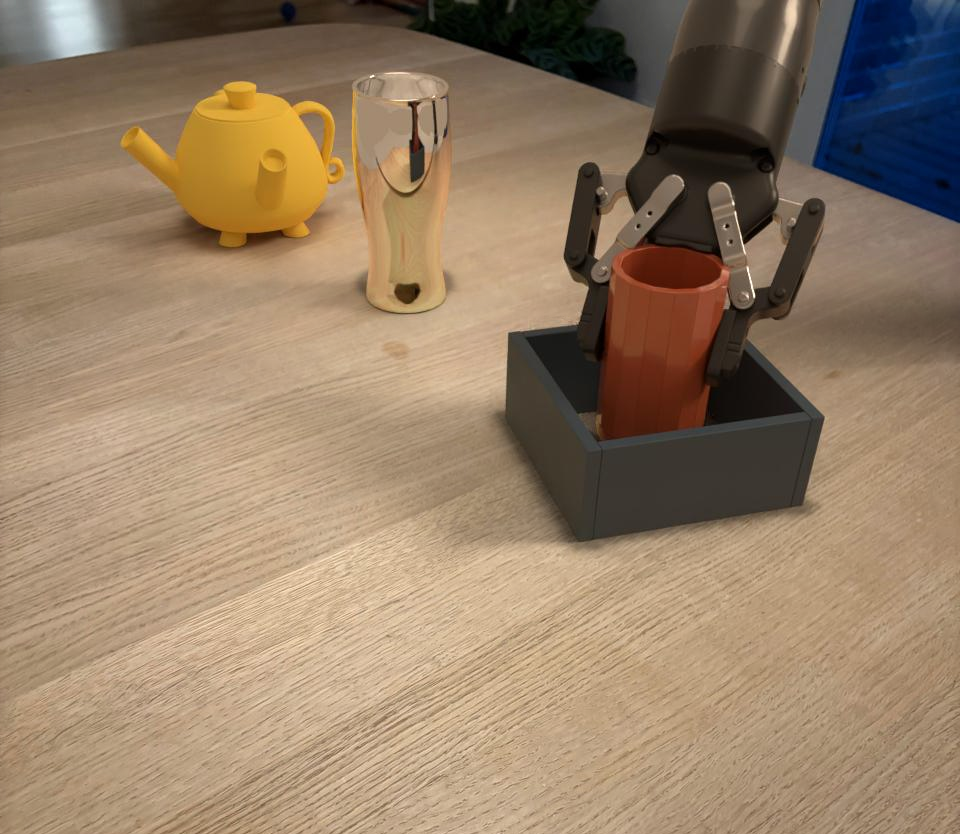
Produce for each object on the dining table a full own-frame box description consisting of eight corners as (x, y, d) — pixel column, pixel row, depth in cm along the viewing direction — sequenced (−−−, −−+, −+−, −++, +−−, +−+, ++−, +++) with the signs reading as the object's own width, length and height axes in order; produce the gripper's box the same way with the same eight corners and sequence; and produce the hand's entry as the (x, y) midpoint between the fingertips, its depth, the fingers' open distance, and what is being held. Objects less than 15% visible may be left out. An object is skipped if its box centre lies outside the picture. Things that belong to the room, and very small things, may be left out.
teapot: (133, 243, 92) (106, 98, 85) (219, 187, 102) (201, 53, 94) (289, 273, 89) (275, 125, 81) (363, 213, 98) (357, 75, 91)
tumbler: (684, 401, 69) (710, 241, 62) (714, 456, 64) (745, 289, 58) (585, 406, 68) (600, 245, 61) (609, 462, 63) (628, 295, 57)
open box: (700, 403, 74) (716, 307, 70) (799, 520, 65) (825, 416, 60) (504, 431, 71) (507, 332, 67) (577, 557, 62) (587, 451, 57)
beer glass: (374, 272, 89) (365, 66, 79) (460, 281, 88) (461, 74, 78) (349, 311, 84) (335, 96, 74) (440, 321, 83) (438, 104, 73)
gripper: (599, 23, 60) (513, 320, 60) (872, 57, 57) (782, 374, 56) (617, 101, 68) (541, 366, 67) (860, 135, 64) (780, 416, 63)
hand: (651, 368), depth 62 cm, fingers closed on tumbler, 6 cm apart
